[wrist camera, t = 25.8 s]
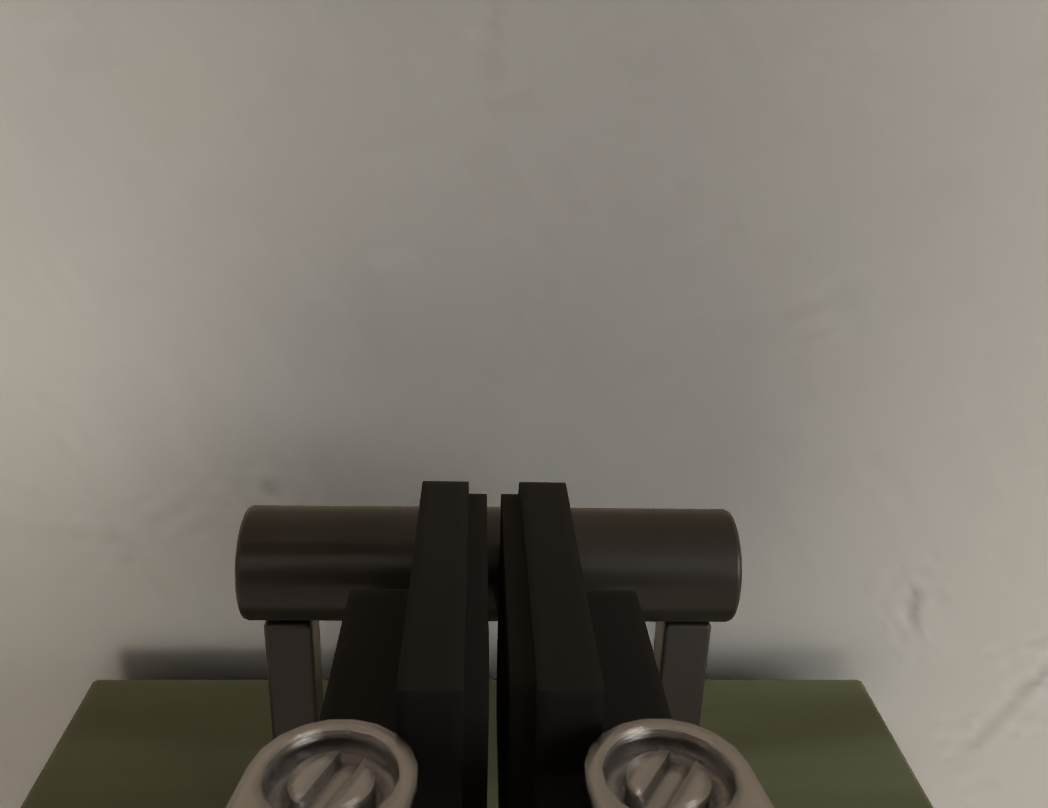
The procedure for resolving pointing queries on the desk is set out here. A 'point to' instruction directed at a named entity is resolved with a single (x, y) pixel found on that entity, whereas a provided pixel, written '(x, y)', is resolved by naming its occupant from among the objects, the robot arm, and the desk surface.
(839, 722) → the drawer
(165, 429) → the desk surface
